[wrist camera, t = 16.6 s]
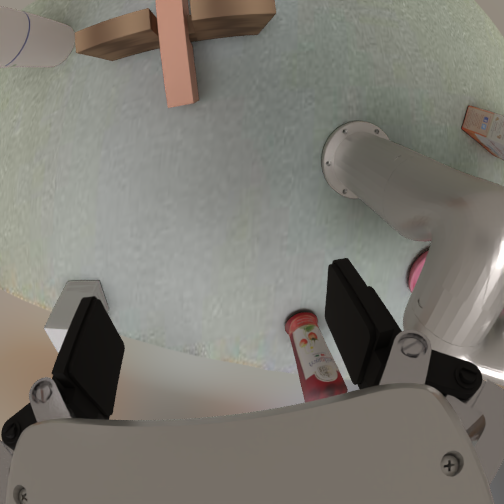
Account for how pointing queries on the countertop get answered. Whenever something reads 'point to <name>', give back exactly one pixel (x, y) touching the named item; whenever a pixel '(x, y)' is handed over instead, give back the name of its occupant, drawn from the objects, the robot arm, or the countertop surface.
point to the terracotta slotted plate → (176, 52)
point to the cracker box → (486, 129)
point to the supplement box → (70, 308)
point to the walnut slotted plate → (199, 22)
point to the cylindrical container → (32, 40)
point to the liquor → (313, 359)
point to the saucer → (416, 270)
